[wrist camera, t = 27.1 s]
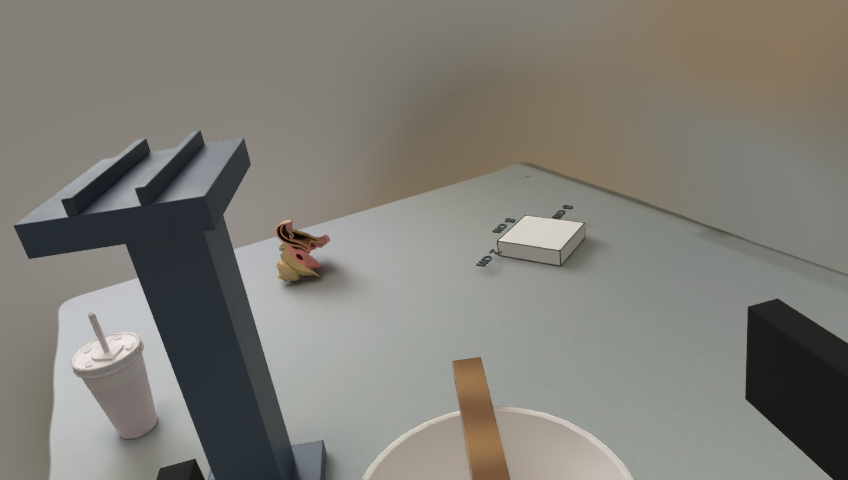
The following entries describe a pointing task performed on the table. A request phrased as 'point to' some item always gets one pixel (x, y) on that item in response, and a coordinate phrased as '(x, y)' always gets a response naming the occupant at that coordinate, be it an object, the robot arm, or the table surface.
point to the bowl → (522, 444)
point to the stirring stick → (479, 422)
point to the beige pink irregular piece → (297, 252)
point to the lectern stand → (186, 291)
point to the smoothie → (118, 380)
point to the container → (539, 239)
